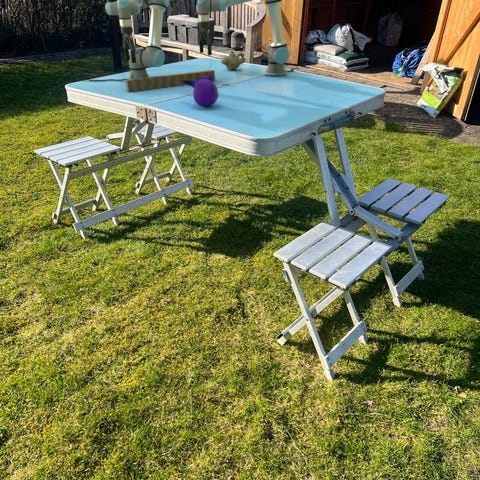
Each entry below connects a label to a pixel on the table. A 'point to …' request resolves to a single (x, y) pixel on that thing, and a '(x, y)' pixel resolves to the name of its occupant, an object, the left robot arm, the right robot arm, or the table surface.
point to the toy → (204, 91)
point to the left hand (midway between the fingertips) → (131, 61)
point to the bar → (165, 80)
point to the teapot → (233, 61)
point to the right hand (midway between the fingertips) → (205, 54)
